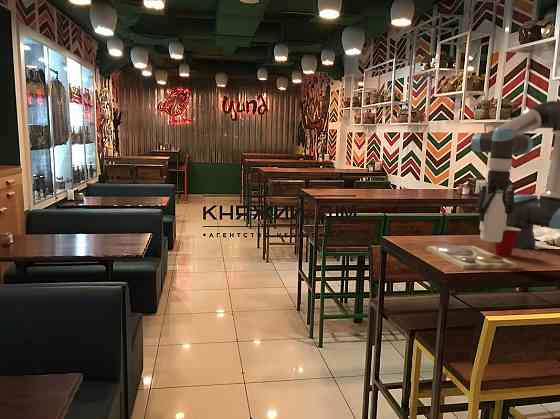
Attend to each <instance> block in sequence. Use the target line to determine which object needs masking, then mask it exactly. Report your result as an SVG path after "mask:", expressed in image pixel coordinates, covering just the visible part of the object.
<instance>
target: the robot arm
mask: <svg viewBox="0 0 560 419" xmlns="http://www.w3.org/2000/svg"><path fill="white" fill-rule="evenodd" d="M537 129H552V134H553V135H554V142H553V148H552V152H551V158H550V163H549V169H548V175H547V179H546V184H545V185H546V186H545V190H544V192H543V193H541V194H540V196H538V195H537V194H515V191H516V188H517V187H516V186H515V185H510V184H509V181H510V178H511V171H510V170H512V163H513V155H517V156H522V155H527V154H529V153H530V152H532V150H533V149H534V148H533V147H534V140H533V138H531V137H530V136H529V135H526V133H527V132H529V131H531V132H532V131H536V130H537ZM470 145H471V149H472V150H473V151H474V152H477V153H487V154H488V153H489V154H490V157H489V165H488V169H489V170H488V172H487V183H486V184H480V185H479V186H478V187H479V188H478V189H479V192H478V196H477V199H476V203H475V205H474V206H475V207H474V210H475V211H477V212H478V213H479V215H478V221H479V230H480V231H481V230H483V231H485V229H486V221H487V213H485V212H486V210H487V208H488V206H489V204H490V202H491V200H492V198H493V197H494V196H495V194H496V191H497V190H498V189H502V190H503V195H502V200H503V203H504V206H505V221H504V229H503V231H505V227H506V226H508V227H514V228H518V229H521V231H520V232H519V234H518V236H517V239H516V242H515V245H514V248H518V249H534V248H536V239H535V233H534V227H535V226H538V227H544V228H548V229H550V230H551V229H552V230H554V229H555V230H560V100H548V101H545V102H541V103H539V104H536V105H532V106H531V107H529V108H527V109H525V110H523V111H522V112H521V113H520V115H519V116H516V117H514V118H513V119H511V120H508V121H507V122H505V123H503V124H501V125H499V126H498V127H495V128H494V129H492V130H490V131H488V132H485V133H483V132H479V133H475V134H474V135H473V136H472V138H471V141H470ZM490 193H491V194H490ZM497 194H499V193H497ZM538 197H539V198H538Z"/></svg>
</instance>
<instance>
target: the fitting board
mask: <svg viewBox="0 0 560 419" xmlns="http://www.w3.org/2000/svg"><path fill="white" fill-rule="evenodd" d="M436 246H437V245H426V248H425V249H426V251H428V252H430V253H432V254H434V255H436V256H438V257H439V256H440V258H441V257H442V259H443V258H444V259H443V260H446V261H447V262H449V263H451V264H453V265H455V266H457V267H459V268H460V267H461V269H463V270H469V269H471V270H473V269H474V270H479V269H480V270H481V269H487V270H488V269H517V268H518V263H515V262H512V261H510V260H508V259H505V258H503V262H501V263H489V262H484V261H480V260H477V259H475V255H476V254H489V255H495V256H497V255H496V254H494V253H491V252H490V251H488V250H487V251H486V250H485V249H482V248H480V247H478V246H475V245H461V246H462V247H466V248H469V249H471V250H472V251H473V252H472V254H471V255H452V254H446V253H443V252H440V251H438V250H436ZM462 257H469V258H473V259H475V263H467V262H463V261H461V258H462Z"/></svg>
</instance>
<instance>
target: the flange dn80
mask: <svg viewBox="0 0 560 419" xmlns="http://www.w3.org/2000/svg"><path fill="white" fill-rule="evenodd" d="M495 255H496V254H494V255H489V254H476V255H475V259H477V260H480V261H484V262H489V263H501V262H503V259H504V258H503V257H502V256H499V255H496V256H495Z"/></svg>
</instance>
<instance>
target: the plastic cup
mask: <svg viewBox="0 0 560 419" xmlns="http://www.w3.org/2000/svg"><path fill="white" fill-rule="evenodd" d="M520 231H521V229H518V228H514V227H508V226H506V227H505V231H503V237H502V241H501V242H493V243H494V253H495V254H494V255H496V256H499V257H511V256H512V253H513V249H514V248H515V247H514V245H515V242H516V239H517V236H518V234H519V232H520Z"/></svg>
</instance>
